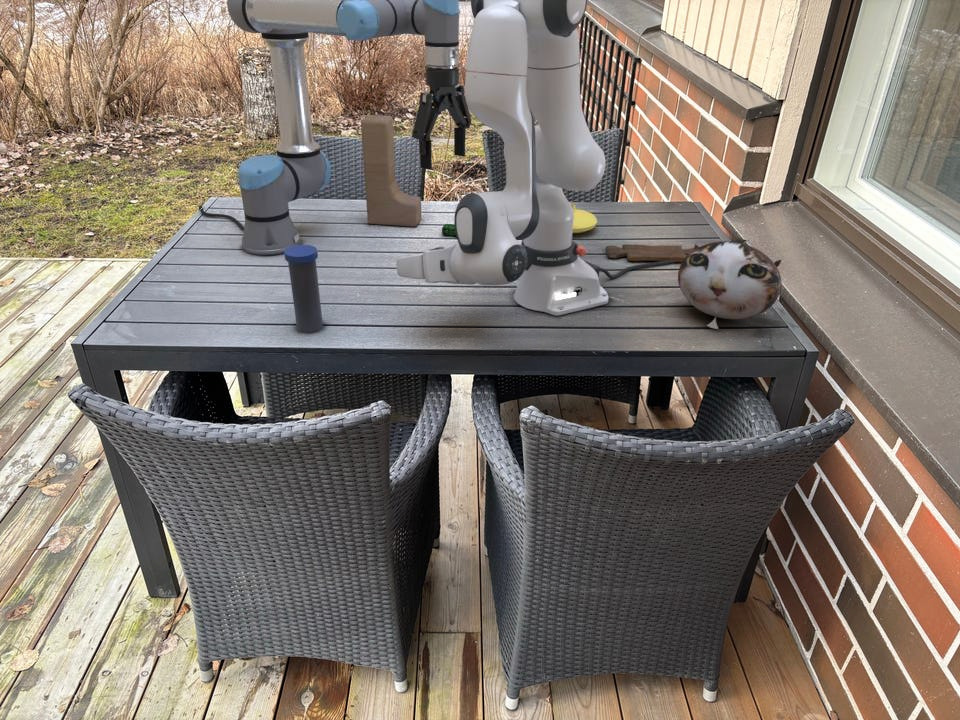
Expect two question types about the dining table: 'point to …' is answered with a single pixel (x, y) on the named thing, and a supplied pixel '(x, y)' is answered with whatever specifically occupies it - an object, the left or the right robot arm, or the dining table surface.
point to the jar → (306, 296)
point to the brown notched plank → (648, 252)
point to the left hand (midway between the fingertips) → (443, 161)
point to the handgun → (449, 229)
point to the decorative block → (385, 176)
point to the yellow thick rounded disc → (583, 220)
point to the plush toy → (729, 280)
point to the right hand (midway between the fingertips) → (418, 262)
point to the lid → (301, 254)
